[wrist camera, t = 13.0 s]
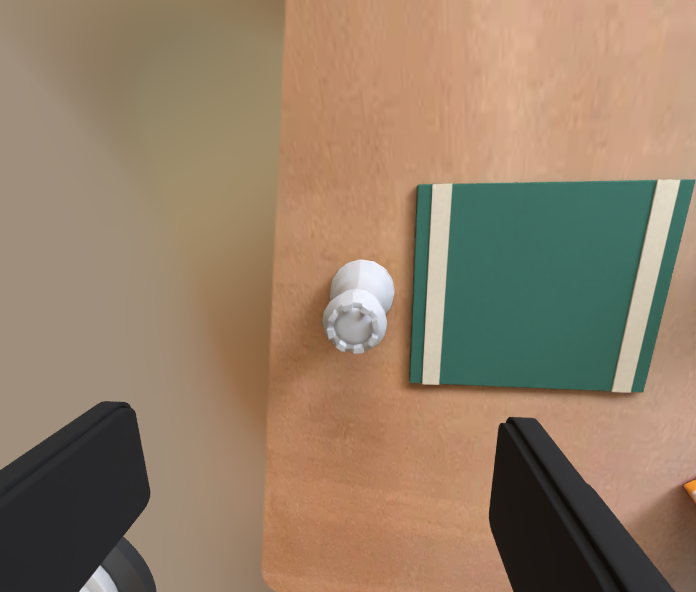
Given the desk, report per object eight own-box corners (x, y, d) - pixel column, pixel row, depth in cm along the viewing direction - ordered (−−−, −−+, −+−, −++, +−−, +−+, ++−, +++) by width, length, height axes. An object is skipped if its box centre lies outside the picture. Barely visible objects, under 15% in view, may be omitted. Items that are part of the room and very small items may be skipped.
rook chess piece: (329, 259, 23) (303, 284, 15) (394, 257, 23) (400, 282, 15) (333, 319, 24) (310, 371, 16) (394, 319, 24) (400, 372, 16)
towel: (409, 380, 25) (409, 383, 24) (417, 185, 21) (418, 184, 21) (639, 389, 23) (644, 393, 23) (690, 179, 20) (697, 179, 19)
